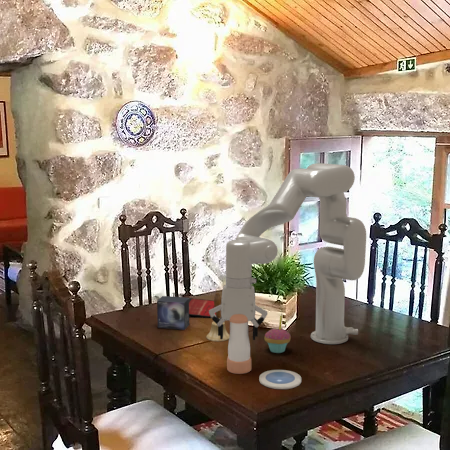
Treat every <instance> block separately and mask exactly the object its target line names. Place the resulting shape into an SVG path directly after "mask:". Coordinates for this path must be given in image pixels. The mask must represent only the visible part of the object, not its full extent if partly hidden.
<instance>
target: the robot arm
mask: <svg viewBox="0 0 450 450" xmlns="http://www.w3.org/2000/svg"><path fill="white" fill-rule="evenodd" d="M355 178H356V177H355V173H354V171H353V169H352V167H350V166H348V165H345V164H338V163H337V164H336V163H335V164H334V163H325V162H324V163H319V162H318V163H317V162H316V163H311V164H310V165H309V166H307V167H306V168H294V169H292V170H291V171H289V173H288V174H287V176H286V177H285V178H284V180H283V182H282V183H281V185H280V187H279V189H278V190H277V192H276V193H275V195H273V196H274V197H273V198H272V200H271V201H270V203H269V204H268V205H267V206H265V207H263V208H261V209H260V210H259V211H258V212H257V213H255V214H253V215H252V216H251V217H250V218H249V219H248V220H247V221H246V222H245V223H244V224H243V225H242V227H241V229H240V230H239V232H238V234H237V235H236V238H235V239H232V240H229V241H228V242H227V243H226V245H225V285H223V287H222V290H221V291H222V292H221V305H219V306H217V307H215V308H213V309H210V310H209V314H210V316H211V318H210V319H212V322H213V321H214V322H215V323H216V324H217V326H218V336H220V339H223V323H225V322H226V321H227V322H230V321H229V320H230V317H231V316H232V315H235V314H242V315H245V316H246V317H247V318H248V322H250V323H251V324H252V341H256V338H257V337H258V335H259V334H258V330H259V329H258V327H259V326H260V325H261V324H262V323H263V322H264V321H265V319H266V317H267V316H268V311H267V310H266V309H264V308H262V307H260V306H259V305H257V304H256V292H255V287H254V284H257V278H253V277H252V268H253V267H252V265H255V264H256V265H261V264H262V265H265V264H269V263H271V262H273V261H274V260H276V258H277V255H278V253H279V252H278V246H277V244H276V243H275V242H274V241H273V240H271V239H268V238H264V237H261V235H262V234H263V233H265V232H266V231H267V230H269V229H271V228H273V227H276V226H280V225H283V224H286V223H289V222H291V221H293V219H295V216H296V214H297V213H298V212H299V210H300V209H301V206H302V205H303V203H304V201H305V200H306V198H307V197H310V198H319V205H320V206H319V208H320V209H319V237H320V239H321V240H322V241H323V242H325V243H327V244H328V243H329V244H332V245H338V246H341V247H343V248H339V247H334V246H323V247H321V248H318V250H316V252H315V254H314V257H313V269H314V273H315V281H316V283H315V284H316V285H315V286H316V289H315V293H316V295H315V330H314V331H312V332H311V333H310V338H311V340H313V341H314V342H316V343H319V344H324V345H340V344H343V343H346V342H347V341H348V340H349V335H359V329H358V328H354V326H353V327H351V326H350V327H349V326H348V327H347V326H345V297H346V296H345V295H346V294H345V293H346V290H345V289H346V288H345V284H344V281H343V280H347V281H357V280H359V279H360V278H361V277H362V275H363V273H364V271H365V265H366V250H367V230H366V225H365V224H364V223H363V221H361V220H360V219H359V218H357V217H351V216H350V217H349V216H347V199H346V194H345V193H346V192H348V191H349V190H350V189H351V188H352V187H353V185H354V183H355ZM218 311H220V316H221V318H220V319H219V318H218V317H217V316H216V315H215V312H218ZM256 312H257V313H259V314H261V316H260V317H259V318H256Z"/></svg>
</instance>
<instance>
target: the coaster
mask: <svg viewBox="0 0 450 450" xmlns="http://www.w3.org/2000/svg"><path fill="white" fill-rule="evenodd" d="M258 378H259V379H258V380H259V383H260V384H261V385H262V386H264V387H266V388H269V389H273V390H289V389H293V388H297V387H298V386H300V385H301V383H302V377H301V375H300V374H298V373H297V372H295V371H292V370H286V369H271V370H267V371H264V372H262V373H261V374H259V377H258Z"/></svg>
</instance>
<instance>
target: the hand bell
mask: <svg viewBox="0 0 450 450" xmlns="http://www.w3.org/2000/svg"><path fill="white" fill-rule="evenodd" d="M221 300H222V296H221V294H220V292H219V291H218V292H215V295H214V298H213V301H214V306H215V307H217V306H219V305H221ZM216 316H217V317H218V318H219V319H220V318H221V310H220V311H218V312H216ZM210 327H211V328H210V331H209V333H207V335H206V336H205V338H206V339H207V340H208V341H210V342H211V341H212V342H225V341H226V342H227V341H229V337H230V333H228V331H227V329H226V323H225V322H224V323H223V339H220V336H218V326H217V324H216V323H215V322H214V321H213V320H212V322H211V326H210Z"/></svg>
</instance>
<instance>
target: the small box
mask: <svg viewBox="0 0 450 450" xmlns="http://www.w3.org/2000/svg"><path fill="white" fill-rule="evenodd" d="M189 298H190V297H185V296H184V297H183V296H182V297H181V296H167V295H161V297H159V298H158V299H157V300H156V309H157V316H156V317H157V328H158V329H166V330H167V329H170V330H178V331H181V330H182V331H185V330H187V328H188V327H189V326H190V324H191V323H190V318H189Z"/></svg>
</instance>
